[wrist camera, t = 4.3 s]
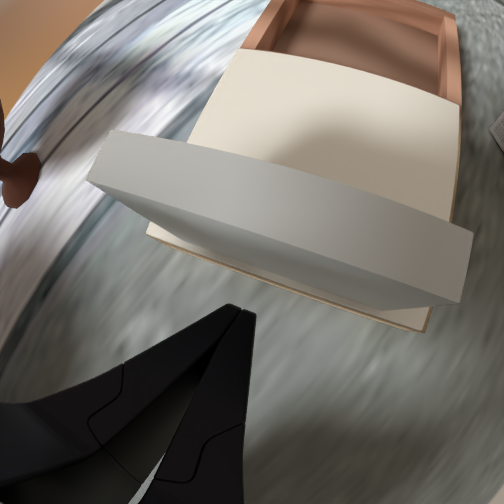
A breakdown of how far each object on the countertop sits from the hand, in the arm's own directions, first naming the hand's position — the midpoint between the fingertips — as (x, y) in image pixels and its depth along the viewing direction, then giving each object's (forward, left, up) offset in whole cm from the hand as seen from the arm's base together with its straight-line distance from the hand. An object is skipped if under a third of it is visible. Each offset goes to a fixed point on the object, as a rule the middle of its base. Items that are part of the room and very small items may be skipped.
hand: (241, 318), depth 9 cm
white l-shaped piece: (+7, +3, -5) cm, 9 cm away
